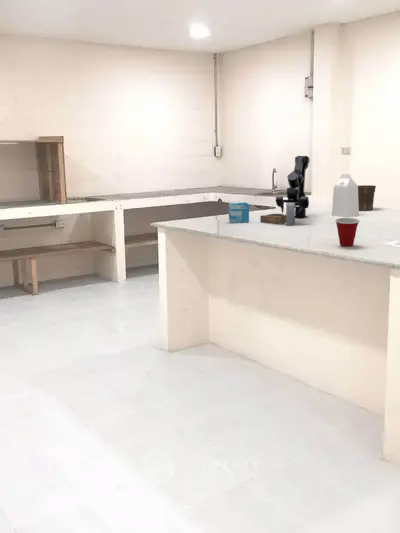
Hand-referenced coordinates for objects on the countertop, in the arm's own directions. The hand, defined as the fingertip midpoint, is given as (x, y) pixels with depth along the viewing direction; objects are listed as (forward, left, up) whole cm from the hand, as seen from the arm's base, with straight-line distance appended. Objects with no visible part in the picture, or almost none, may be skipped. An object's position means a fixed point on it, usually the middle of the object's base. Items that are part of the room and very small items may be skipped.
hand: (290, 212), depth 326 cm
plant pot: (-82, -8, -8) cm, 82 cm away
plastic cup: (+32, +64, -8) cm, 72 cm away
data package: (+9, -33, -8) cm, 35 cm away
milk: (-52, 0, -8) cm, 52 cm away
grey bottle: (-1, 0, -7) cm, 7 cm away
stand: (-5, -16, -7) cm, 19 cm away
